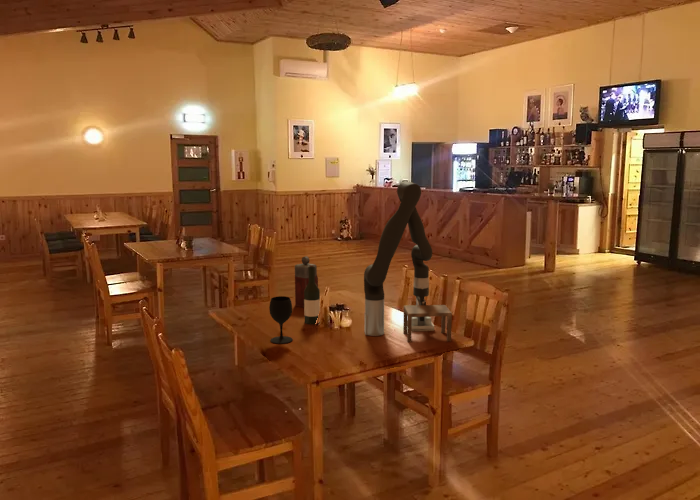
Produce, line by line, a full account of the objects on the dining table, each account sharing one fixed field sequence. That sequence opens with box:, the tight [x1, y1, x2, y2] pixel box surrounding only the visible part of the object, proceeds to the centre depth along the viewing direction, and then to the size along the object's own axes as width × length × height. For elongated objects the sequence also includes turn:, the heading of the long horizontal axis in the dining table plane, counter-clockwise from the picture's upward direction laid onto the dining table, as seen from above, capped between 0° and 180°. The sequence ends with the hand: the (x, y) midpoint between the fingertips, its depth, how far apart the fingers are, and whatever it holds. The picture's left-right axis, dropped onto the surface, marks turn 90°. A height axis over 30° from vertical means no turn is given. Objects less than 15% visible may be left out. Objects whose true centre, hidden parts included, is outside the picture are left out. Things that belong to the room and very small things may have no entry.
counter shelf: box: [402, 304, 453, 343], centre depth 273 cm, size 20×14×14 cm
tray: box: [407, 316, 435, 332], centre depth 287 cm, size 12×10×7 cm
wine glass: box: [269, 295, 294, 345], centre depth 267 cm, size 10×10×20 cm
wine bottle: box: [303, 263, 321, 325], centre depth 295 cm, size 8×8×30 cm
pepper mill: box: [294, 256, 319, 308], centre depth 329 cm, size 9×11×28 cm
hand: (420, 318), depth 287 cm, fingers open, 6 cm apart
